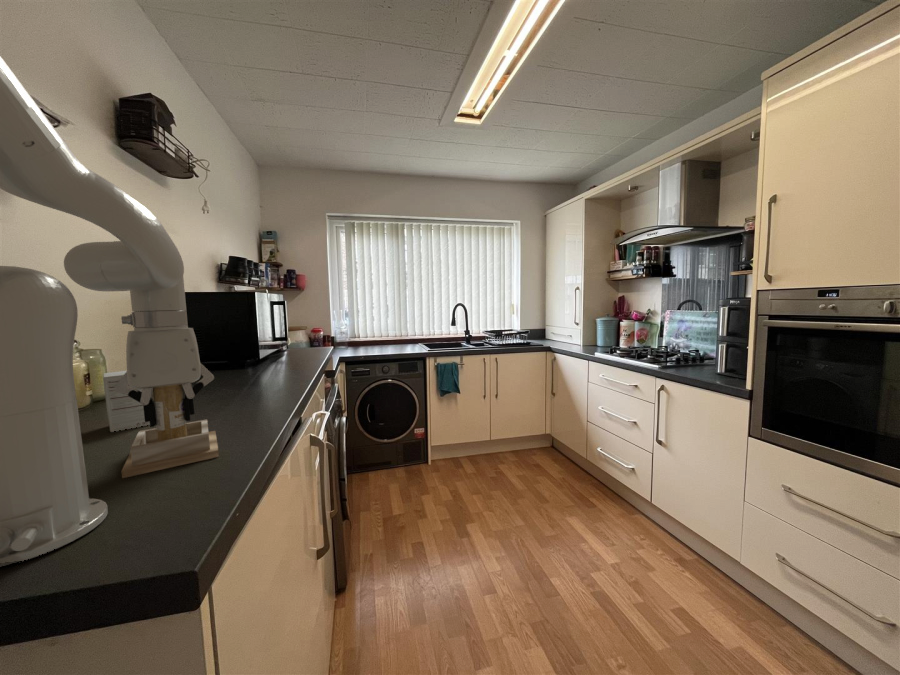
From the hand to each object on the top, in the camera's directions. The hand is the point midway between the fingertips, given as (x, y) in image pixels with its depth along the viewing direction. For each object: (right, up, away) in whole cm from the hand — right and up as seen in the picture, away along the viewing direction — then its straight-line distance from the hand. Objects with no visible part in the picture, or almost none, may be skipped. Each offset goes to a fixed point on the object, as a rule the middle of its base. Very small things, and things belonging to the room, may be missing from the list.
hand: (171, 420), depth 66 cm
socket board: (0, -6, +1) cm, 6 cm away
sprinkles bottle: (0, -5, 0) cm, 5 cm away
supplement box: (-24, -6, +19) cm, 31 cm away
